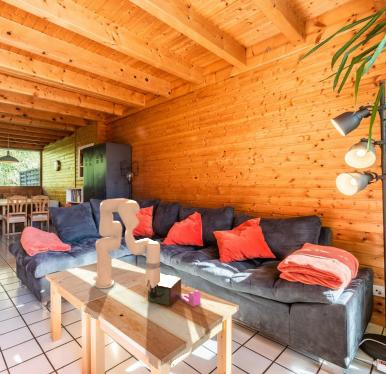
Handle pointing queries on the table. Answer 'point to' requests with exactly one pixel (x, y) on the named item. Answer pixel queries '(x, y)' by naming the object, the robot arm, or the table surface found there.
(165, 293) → the drawer
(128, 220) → the robot arm
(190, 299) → the bracket
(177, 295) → the cabinet
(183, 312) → the table surface
